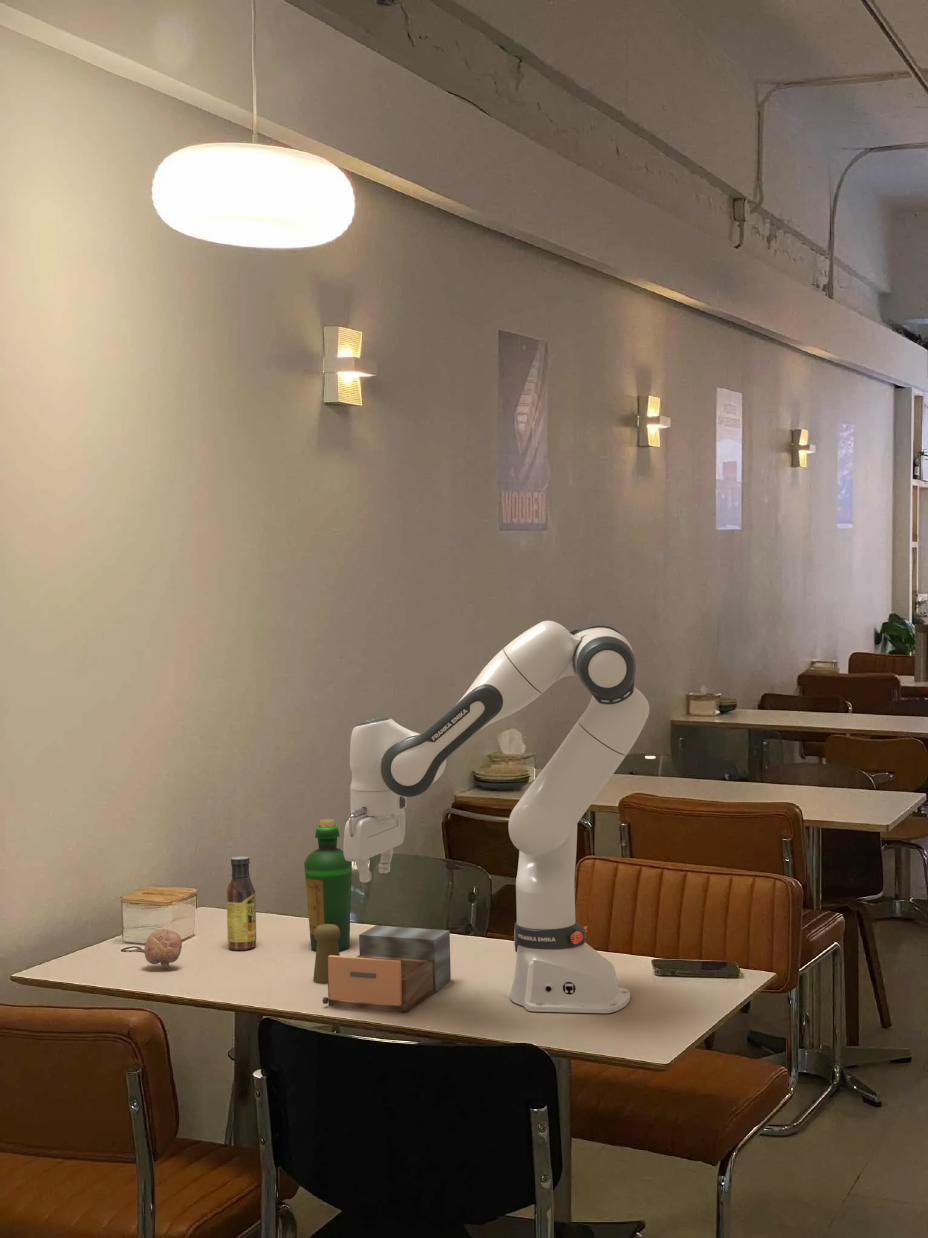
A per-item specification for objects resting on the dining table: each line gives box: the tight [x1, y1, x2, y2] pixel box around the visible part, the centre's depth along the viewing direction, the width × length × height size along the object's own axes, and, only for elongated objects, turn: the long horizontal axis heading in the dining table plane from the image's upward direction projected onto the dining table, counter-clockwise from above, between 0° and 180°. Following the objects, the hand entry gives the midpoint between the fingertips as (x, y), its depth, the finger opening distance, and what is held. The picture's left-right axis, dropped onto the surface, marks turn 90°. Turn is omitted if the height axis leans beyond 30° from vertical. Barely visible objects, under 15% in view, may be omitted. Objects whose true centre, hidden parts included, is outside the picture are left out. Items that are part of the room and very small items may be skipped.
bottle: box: [304, 818, 353, 952], centre depth 303 cm, size 11×11×28 cm
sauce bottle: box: [226, 855, 257, 951], centre depth 305 cm, size 7×6×20 cm
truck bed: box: [322, 925, 452, 1014], centre depth 267 cm, size 17×24×10 cm
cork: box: [312, 924, 341, 985], centre depth 278 cm, size 6×6×11 cm
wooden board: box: [328, 955, 402, 1006], centre depth 256 cm, size 14×1×8 cm, turn 69°
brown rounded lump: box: [143, 928, 183, 970], centre depth 289 cm, size 8×6×8 cm
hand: (375, 877), depth 262 cm, fingers open, 7 cm apart
